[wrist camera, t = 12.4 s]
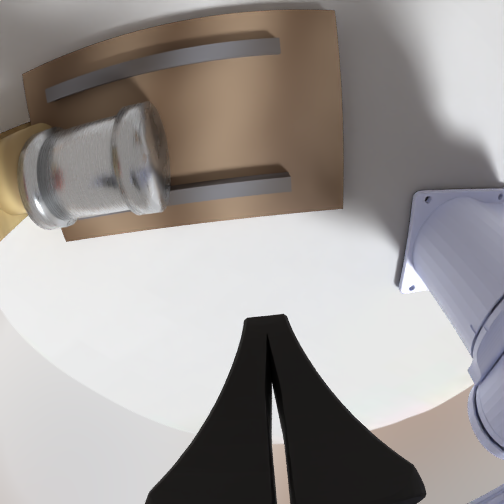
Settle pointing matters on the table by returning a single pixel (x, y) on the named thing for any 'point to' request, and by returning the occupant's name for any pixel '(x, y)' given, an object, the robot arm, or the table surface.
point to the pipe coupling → (96, 168)
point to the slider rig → (205, 115)
